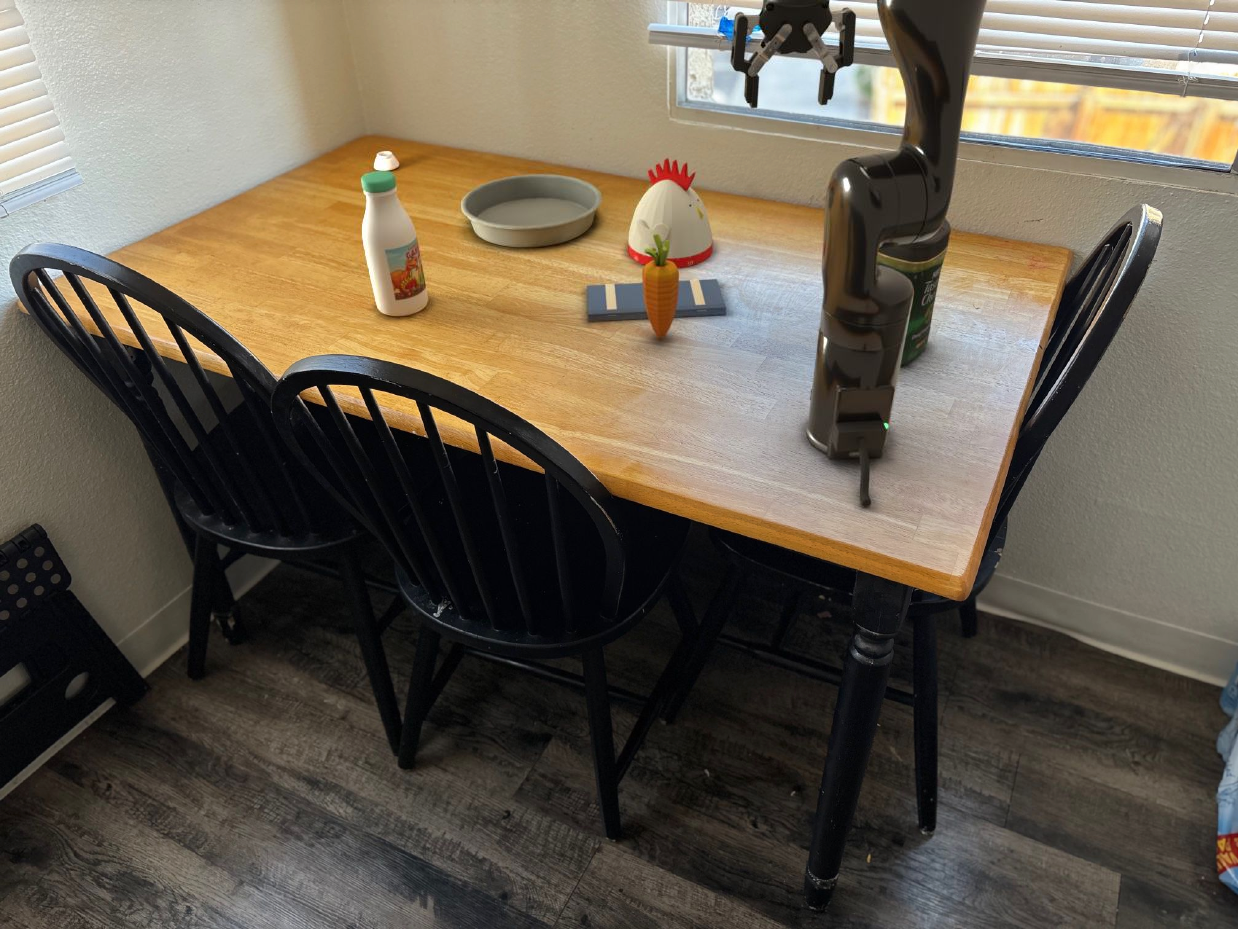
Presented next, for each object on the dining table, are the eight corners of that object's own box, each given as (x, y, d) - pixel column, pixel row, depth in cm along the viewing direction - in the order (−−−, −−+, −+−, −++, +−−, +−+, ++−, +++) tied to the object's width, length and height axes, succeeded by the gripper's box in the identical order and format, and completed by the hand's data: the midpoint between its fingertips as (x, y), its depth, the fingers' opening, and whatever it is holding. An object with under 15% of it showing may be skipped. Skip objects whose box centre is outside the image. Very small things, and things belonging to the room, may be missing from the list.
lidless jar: (403, 164, 186) (382, 162, 187) (401, 150, 184) (379, 148, 185) (391, 173, 182) (370, 171, 183) (388, 158, 180) (367, 156, 182)
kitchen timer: (686, 275, 142) (687, 181, 132) (612, 256, 148) (609, 166, 138) (726, 242, 151) (730, 152, 141) (655, 226, 157) (655, 139, 148)
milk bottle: (379, 321, 133) (349, 188, 121) (375, 298, 139) (347, 169, 127) (431, 313, 134) (407, 181, 122) (426, 290, 140) (403, 162, 128)
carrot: (675, 348, 124) (676, 246, 115) (640, 346, 125) (638, 244, 116) (681, 330, 128) (681, 230, 118) (646, 328, 129) (644, 228, 119)
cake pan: (550, 263, 146) (548, 237, 144) (435, 235, 157) (431, 210, 154) (628, 210, 163) (628, 186, 160) (519, 188, 173) (517, 164, 170)
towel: (725, 314, 131) (726, 307, 130) (588, 321, 131) (588, 314, 130) (716, 283, 139) (717, 276, 138) (587, 290, 139) (586, 282, 138)
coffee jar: (902, 373, 117) (928, 238, 106) (848, 354, 121) (867, 222, 110) (936, 343, 123) (963, 212, 111) (883, 326, 127) (904, 198, 115)
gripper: (741, -37, 97) (734, 117, 107) (872, -43, 98) (853, 111, 107) (731, -49, 103) (725, 98, 113) (854, -54, 103) (838, 93, 113)
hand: (787, 104), depth 110 cm, fingers open, 8 cm apart
